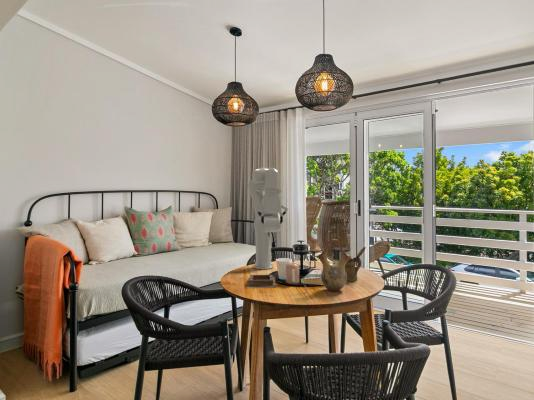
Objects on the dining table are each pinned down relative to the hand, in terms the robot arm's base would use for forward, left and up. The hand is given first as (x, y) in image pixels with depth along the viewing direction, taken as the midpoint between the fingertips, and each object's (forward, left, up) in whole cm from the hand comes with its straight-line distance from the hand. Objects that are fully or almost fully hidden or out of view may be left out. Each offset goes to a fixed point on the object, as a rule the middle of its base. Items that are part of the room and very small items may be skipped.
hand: (272, 223), depth 181 cm
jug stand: (+12, -6, -30) cm, 33 cm away
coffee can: (-13, +41, -31) cm, 53 cm away
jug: (+13, +10, -30) cm, 34 cm away
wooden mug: (+4, +43, -31) cm, 53 cm away
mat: (+12, +10, -30) cm, 34 cm away
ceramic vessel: (+22, +29, -31) cm, 47 cm away
